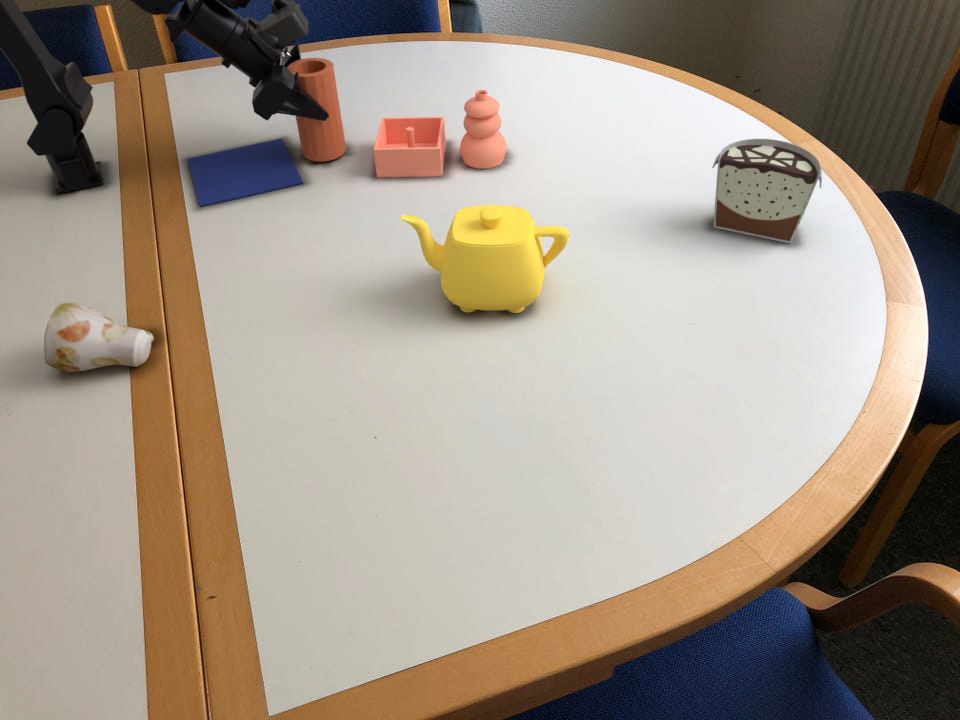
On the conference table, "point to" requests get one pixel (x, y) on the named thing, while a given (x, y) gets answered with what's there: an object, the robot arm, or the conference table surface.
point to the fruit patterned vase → (91, 340)
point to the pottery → (439, 141)
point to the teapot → (491, 257)
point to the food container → (764, 187)
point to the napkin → (243, 172)
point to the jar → (320, 84)
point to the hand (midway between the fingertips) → (326, 107)
